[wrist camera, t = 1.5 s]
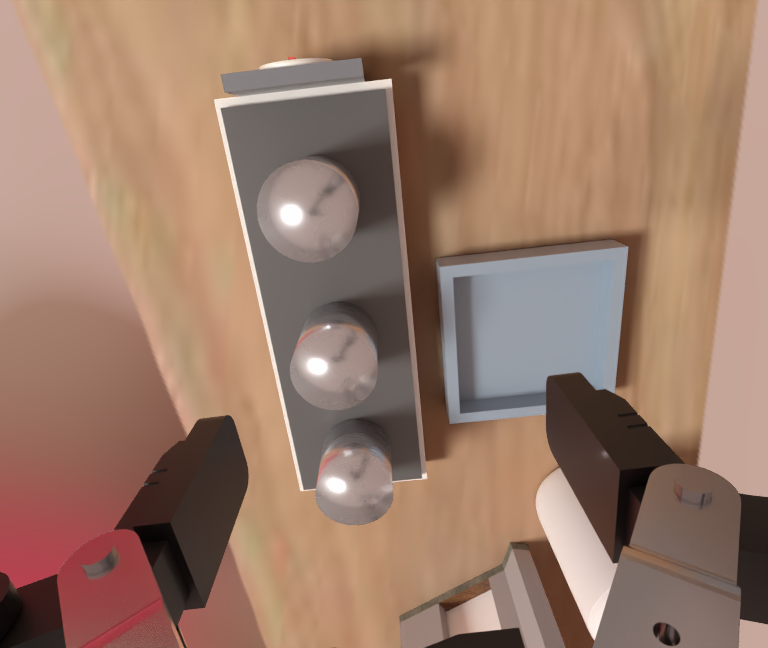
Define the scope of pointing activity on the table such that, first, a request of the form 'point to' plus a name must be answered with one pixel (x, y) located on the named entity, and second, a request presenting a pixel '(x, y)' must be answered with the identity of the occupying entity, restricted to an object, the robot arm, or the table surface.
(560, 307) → the tray
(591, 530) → the pill bottle
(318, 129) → the scale
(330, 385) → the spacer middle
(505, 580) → the cabinet
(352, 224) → the cylinder
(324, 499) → the cylinder
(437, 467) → the table surface
